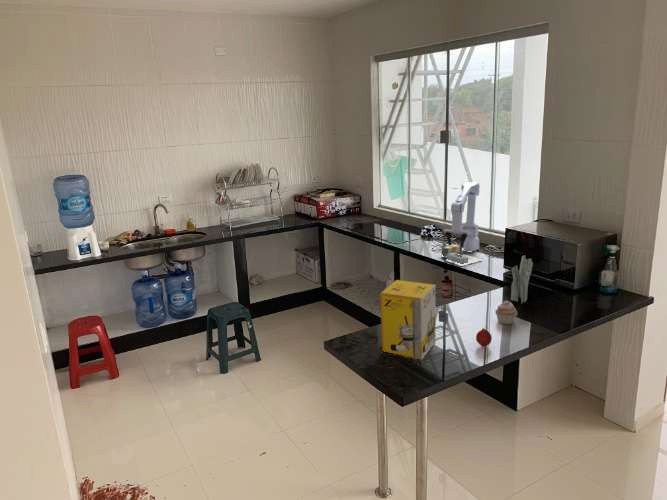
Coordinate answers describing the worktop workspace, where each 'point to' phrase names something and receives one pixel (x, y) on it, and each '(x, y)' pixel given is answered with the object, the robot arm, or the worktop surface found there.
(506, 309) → the cupcake
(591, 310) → the worktop surface
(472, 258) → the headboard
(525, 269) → the pale green stalk cluster
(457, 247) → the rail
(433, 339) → the packaging box
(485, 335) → the onion
